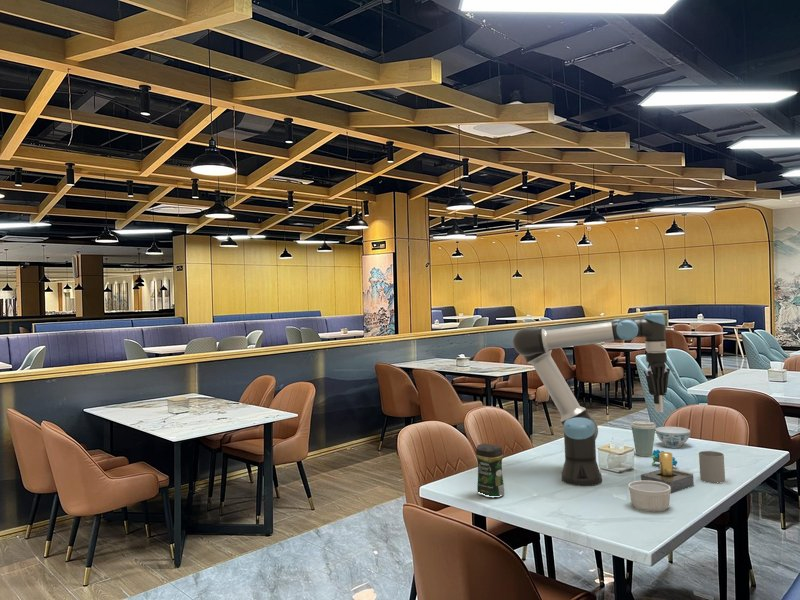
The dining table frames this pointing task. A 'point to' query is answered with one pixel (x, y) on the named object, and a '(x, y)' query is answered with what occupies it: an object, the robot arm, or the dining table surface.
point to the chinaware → (673, 435)
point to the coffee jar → (490, 470)
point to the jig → (671, 479)
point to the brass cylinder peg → (666, 464)
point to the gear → (657, 459)
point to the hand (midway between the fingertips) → (659, 411)
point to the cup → (712, 466)
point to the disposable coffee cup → (643, 437)
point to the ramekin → (650, 495)
